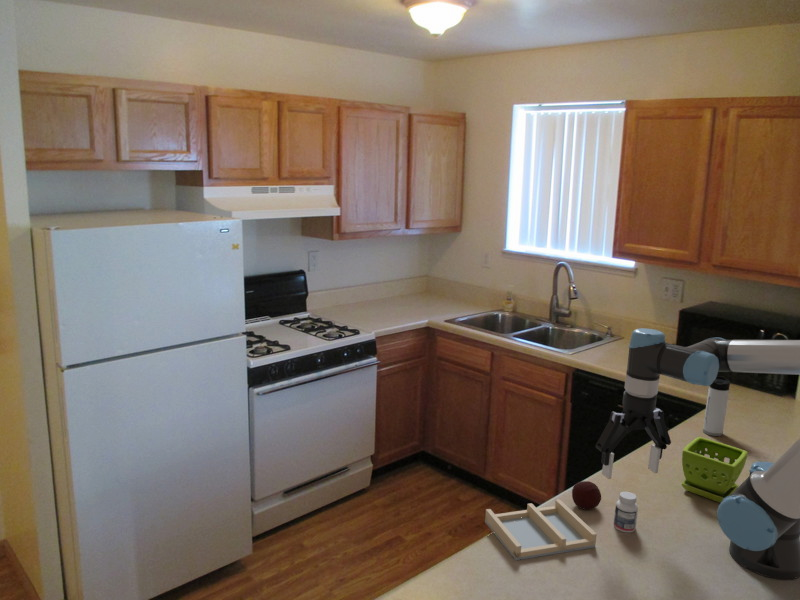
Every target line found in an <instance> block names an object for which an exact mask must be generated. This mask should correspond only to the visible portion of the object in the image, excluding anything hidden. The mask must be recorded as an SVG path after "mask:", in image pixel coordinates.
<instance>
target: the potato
mask: <svg viewBox="0 0 800 600" xmlns="http://www.w3.org/2000/svg"><path fill="white" fill-rule="evenodd" d="M571 497H572V501H573V503H574V504H575V506H577V507H578V508H580V509H582V510H587V511H590V510H593V509H595V508H597V507H598V506H599V505H600V503H601V501H602V494H601V490H600V488H599V486H597V484H596V483H593V482H592V481H587V480H586V481H585V480H583V481H578V482H577V483H575V484H574V486H573V487H572V490H571Z"/></svg>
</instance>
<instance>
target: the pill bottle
mask: <svg viewBox="0 0 800 600" xmlns="http://www.w3.org/2000/svg"><path fill="white" fill-rule="evenodd" d="M618 498H619V499H618V500H617V501H616V502H615V509H614V517H613V526H614V528H615V529H616V530H618V531H619V532H622V533H626V534H627V533H629V534H630V533H634V532H635V531H636V527H637V519H638V511H639V507H638V504H637V495H636V494H635V493H633V492H630V491H621V492H620V493H619V497H618Z"/></svg>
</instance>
